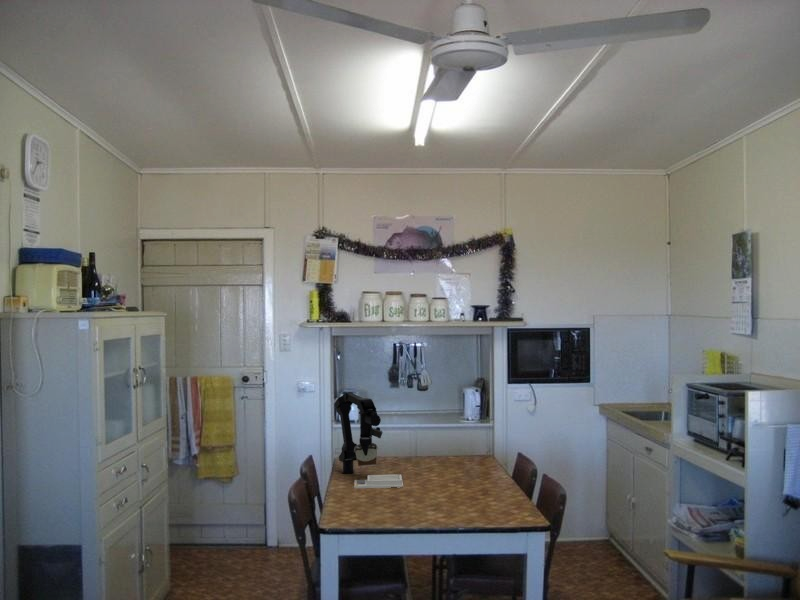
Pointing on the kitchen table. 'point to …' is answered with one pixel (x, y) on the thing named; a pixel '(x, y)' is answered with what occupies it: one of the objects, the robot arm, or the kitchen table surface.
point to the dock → (380, 481)
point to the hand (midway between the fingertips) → (366, 454)
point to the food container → (371, 455)
